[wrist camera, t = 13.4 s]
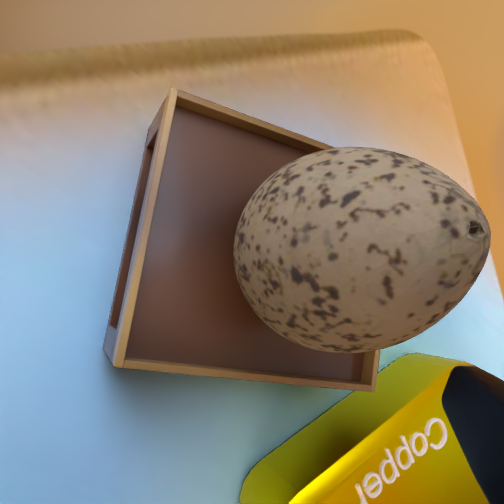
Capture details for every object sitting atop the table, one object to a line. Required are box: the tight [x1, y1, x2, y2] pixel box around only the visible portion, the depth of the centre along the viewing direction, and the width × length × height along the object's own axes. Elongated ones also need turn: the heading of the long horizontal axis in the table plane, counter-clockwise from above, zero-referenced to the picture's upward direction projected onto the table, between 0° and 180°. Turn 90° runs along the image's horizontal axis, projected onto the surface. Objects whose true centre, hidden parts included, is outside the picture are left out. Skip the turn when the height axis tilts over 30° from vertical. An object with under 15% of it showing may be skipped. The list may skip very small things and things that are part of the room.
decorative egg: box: [233, 147, 491, 353], centre depth 15 cm, size 7×7×10 cm
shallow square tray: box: [103, 87, 380, 392], centre depth 20 cm, size 11×12×5 cm
